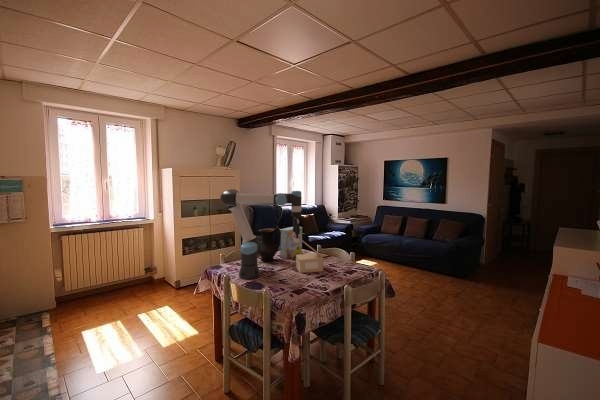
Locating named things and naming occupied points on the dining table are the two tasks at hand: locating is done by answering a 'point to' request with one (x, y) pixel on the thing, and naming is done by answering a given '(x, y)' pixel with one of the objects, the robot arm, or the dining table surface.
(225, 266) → the dining table surface
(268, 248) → the jug
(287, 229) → the snack box
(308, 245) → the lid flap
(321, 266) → the carton
